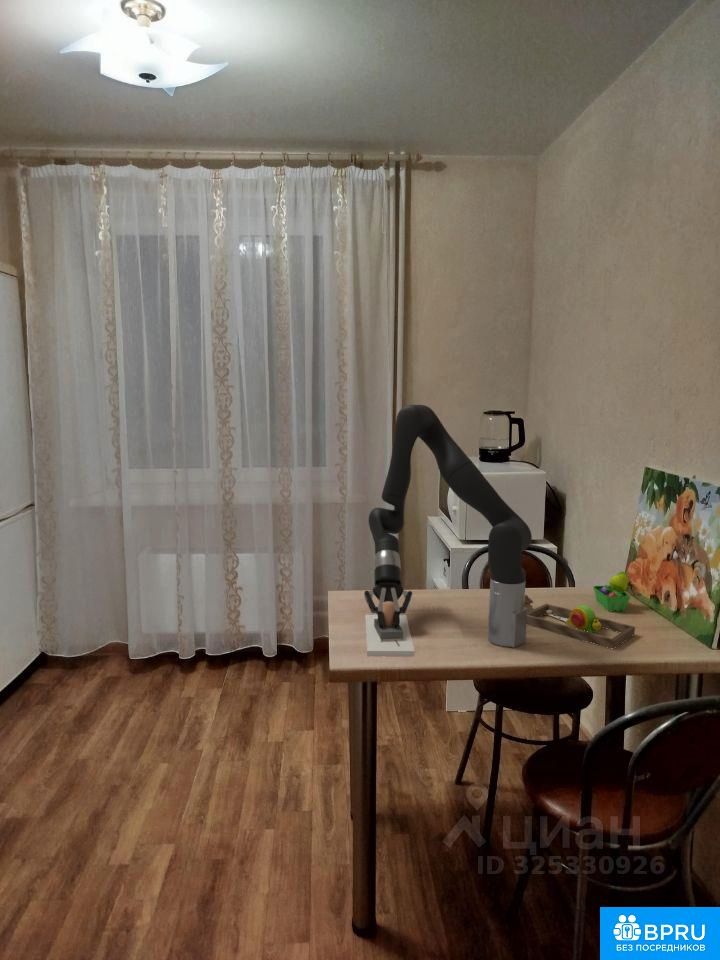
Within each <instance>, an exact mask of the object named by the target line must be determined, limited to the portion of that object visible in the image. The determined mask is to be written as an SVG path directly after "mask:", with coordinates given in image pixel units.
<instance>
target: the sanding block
mask: <svg viewBox="0 0 720 960" xmlns="http://www.w3.org/2000/svg"><path fill="white" fill-rule="evenodd" d="M394 609H395V603H394V602H392V601H385V602H383V611H382V612H383V628H380V626H379V625H378V619H374V628H375V630H376V632H377V634H378V636H379V638H380V640H381V641H385V640H403V630H402V628H401V627H400V625H399V626H397V628H394Z"/></svg>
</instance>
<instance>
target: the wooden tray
mask: <svg viewBox="0 0 720 960" xmlns="http://www.w3.org/2000/svg"><path fill="white" fill-rule="evenodd" d="M533 609H534V610H532V611H530V612H527V624H526V625H528V626H531V627H535V628H539V629H542V630H545V631H549V632H552V633H556V634H559V635H562V636H565V637H569V638H573V639H575V638H576V639H575V640H580V641H582V640H584V641H583V642H585V641H588V642H587V643H589V642H592V643H595V644H598V645H597V646H599V645H601V646H600V647H602V646H604V647H603V648H606V647H608V648H607V649H609V648H613V649H614V648H615V647H617V646H618V645H619V646H621V645H622V644H623V643H622V642H624V641H625V640H627V639H628V638H630V637H631V636H632V635H634V636H635V632H636V631H635V630H636V626H633V625H629V624H625V623H621V622H618V621H613V620H609V619H607V618H604V617H603V618H602V617H599V616H596V620H597V619H599V620H600V621H599V622H600V623H601V627H604V628H608V629H611V630H615V631H618V632H617V633H618V634H617V635H615V636H613V637H612V638H610V637H607V636H603V635H601V634H596V633H595V632H594V633H590V632H587V631H583V630H580V629H576V628H574V627H571V626H569V625H566V624H565V625H564V624H561V623H558V622H554V621H552V620H549V619H548V620H547V619H544V618H540V617H541V616H544V615H545V613H544V611H546V610H551V611H552V614H555V615H556V616H557V615H559V616H558V617H561V616H562V617H561V618H564V617H565V618H567V619H568V618H569V617H570V613H571V611H572V610H573V609H569V608H566V607H561V606H558V605H553V604H549V603H545V604H543V605H540V606H538V607H536V608H533ZM604 628H603V629H604ZM608 629H607V630H608ZM611 630H610V631H611ZM615 631H614V632H615ZM619 632H621V633H619ZM631 638H632V637H631ZM631 638H630V639H631ZM628 640H629V639H628ZM628 640H627V641H628ZM625 642H626V641H625ZM625 642H624V643H625ZM592 643H591V644H592ZM621 643H622V644H621ZM595 644H594V645H595ZM620 644H621V645H620ZM619 646H618V647H619ZM618 647H617V648H618ZM615 649H616V648H615ZM615 649H614V650H615Z"/></svg>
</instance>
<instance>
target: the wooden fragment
mask: <svg viewBox="0 0 720 960" xmlns="http://www.w3.org/2000/svg"><path fill="white" fill-rule="evenodd" d="M531 603H533V599H531V598H529V596H528V595H527V594H525V600H524V607H525V608H527V612H530V611H532V610H534V609H535V608H534V607H533V605H531Z"/></svg>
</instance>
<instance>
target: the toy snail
mask: <svg viewBox="0 0 720 960" xmlns="http://www.w3.org/2000/svg"><path fill="white" fill-rule="evenodd" d="M571 610H572V611H571V613H570V617H569V619H568V618H564V617H561V619H559V618H558V617H559V616H558V617H557V615H556V616H554V615H553V614H552V611H551V610H546V611H544V613H545V614H544V615H545V616H549V617H552V618H555V619H557V620H560V621H563V622H565V625H566V626H569V627H571V626H572V627H573V628H577V629H580V630H585V631H588V632H590V633H593V632H594V633H597V632H598V631H599V630H601V629H602V628H601V623H600V622H599V621H600V620H599V619H597V620H596V617H597V616H596V613H595V611H594V610H593V609H592V608H591V607H590V606H587V605H585V604H584V605H578V606H575V607H574V608H573V609H571ZM596 631H597V632H596Z"/></svg>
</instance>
